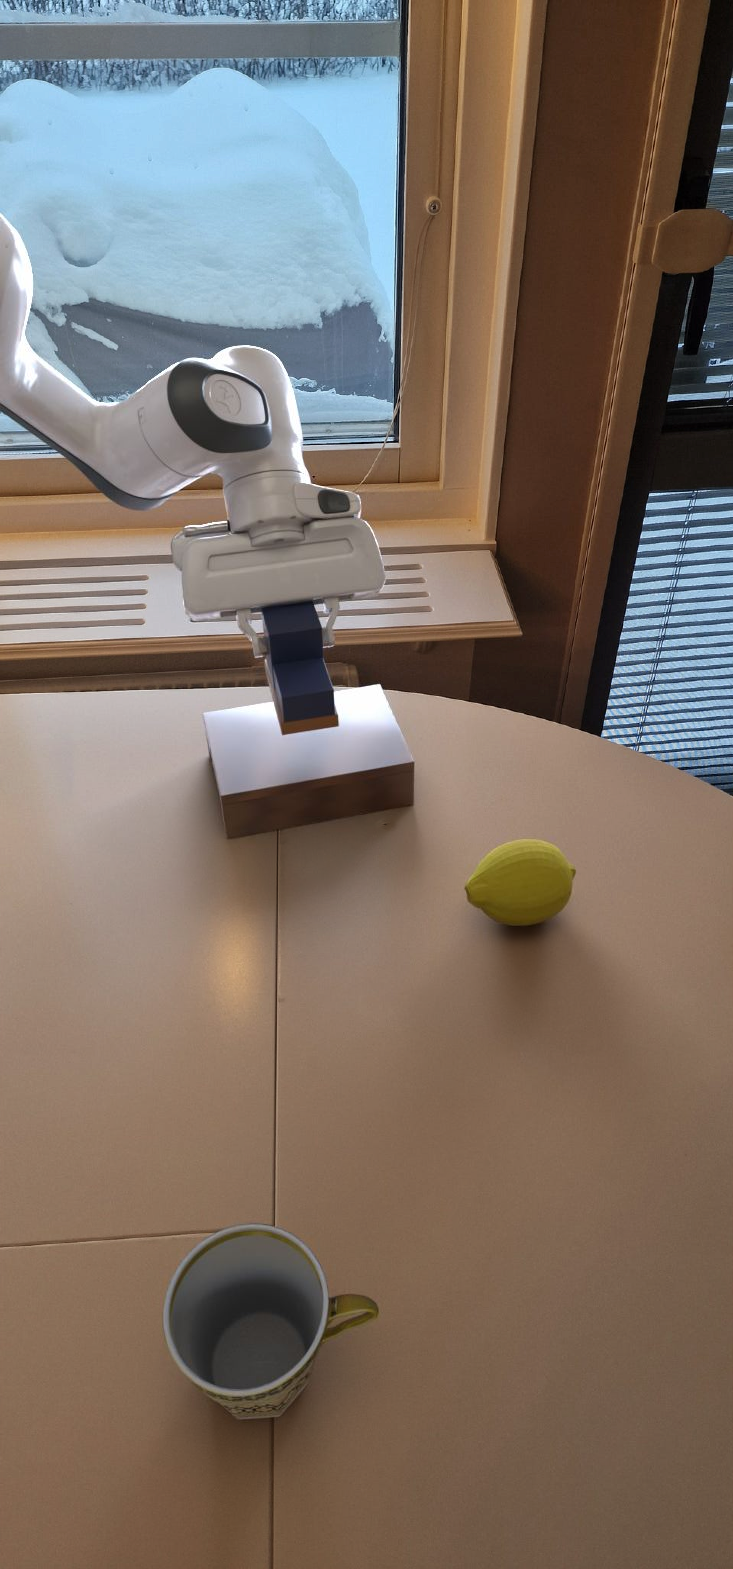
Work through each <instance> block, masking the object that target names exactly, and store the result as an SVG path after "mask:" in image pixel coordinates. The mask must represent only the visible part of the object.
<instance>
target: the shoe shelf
mask: <svg viewBox="0 0 733 1569" xmlns="http://www.w3.org/2000/svg"><path fill="white" fill-rule="evenodd" d="M334 702H335V706H336V709H337V712H338V719H339V726H338V727H332V728H325V729H319V730H313V731H306V732H300V733H294V734H287V735H282V733H281V729H280V725H279V721H278V718H277V714H276V710H275V706H274V702H273V701H267V702H261V703H256V704H250V705H244V706H237V707H230V708H225V709H218V710H213V711H206V712H202V720H203V726H204V732H205V739H206V745H207V751H208V757H209V762H210V763H212V768H213V771H214V772H213V773H214V776H215V781H216V785H217V790H218V794H219V800H220V808H221V813H222V814H221V815H222V820H223V827H224V834H225V838H226V839H227V840H229V839H234V838H239V837H245V836H252V835H256V834H263V833H268V832H272V831H277V830H278V831H279V830H284V829H289V828H294V827H298V826H306V825H311V824H316V823H320V822H327V821H331V820H338V819H342V818H349V817H353V816H359V815H365V814H371V813H375V812H381V811H385V810H386V811H387V810H390V809H397V808H402V807H408V806H413V805H414V804H415V802H414V801H415V760H414V758H413V755H412V753H411V751H410V748H409V747H408V744H407V742H406V740H405V737H404V735H403V732H402V730H401V728H400V726H399V723H398V722H397V719H396V716H395V714H394V713H393V710H392V708H391V706H390V704H389V701H388V699H387V697H386V694H385V692H384V690H383V688H382V685H381V684H380V683H377V684H372V685H366V686H359V687H354V688H347V689H342V690H336V691H335V690H334Z"/></svg>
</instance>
